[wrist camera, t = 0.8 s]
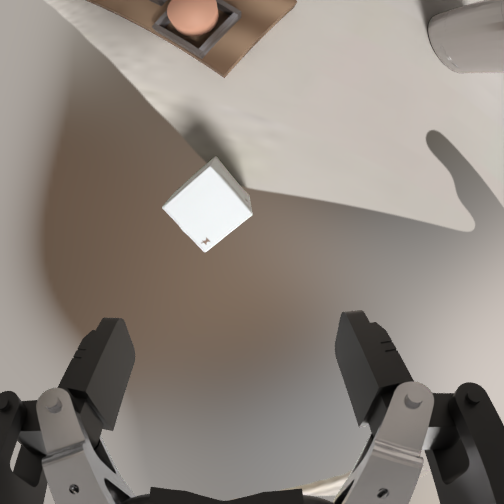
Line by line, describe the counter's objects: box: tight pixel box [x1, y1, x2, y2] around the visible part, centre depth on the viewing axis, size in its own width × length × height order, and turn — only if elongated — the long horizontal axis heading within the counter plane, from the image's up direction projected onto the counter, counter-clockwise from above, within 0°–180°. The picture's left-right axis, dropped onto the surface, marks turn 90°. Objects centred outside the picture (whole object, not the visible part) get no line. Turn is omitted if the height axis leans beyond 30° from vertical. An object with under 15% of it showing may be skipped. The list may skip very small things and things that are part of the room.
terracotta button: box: [167, 0, 219, 37], centre depth 19 cm, size 4×4×3 cm
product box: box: [162, 156, 253, 252], centre depth 29 cm, size 6×6×7 cm
